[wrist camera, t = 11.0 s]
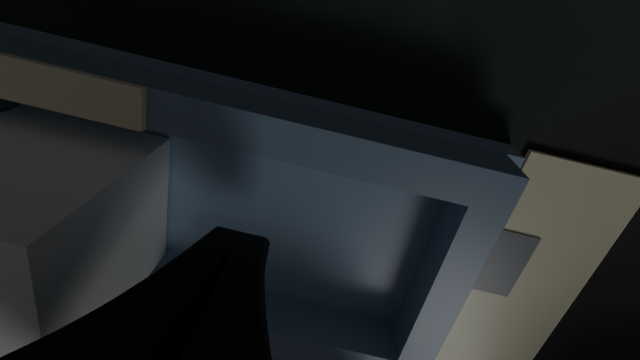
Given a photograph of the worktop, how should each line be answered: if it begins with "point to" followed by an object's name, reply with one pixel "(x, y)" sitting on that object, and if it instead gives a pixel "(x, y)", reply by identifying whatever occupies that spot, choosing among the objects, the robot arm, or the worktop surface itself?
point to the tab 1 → (74, 217)
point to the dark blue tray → (349, 205)
